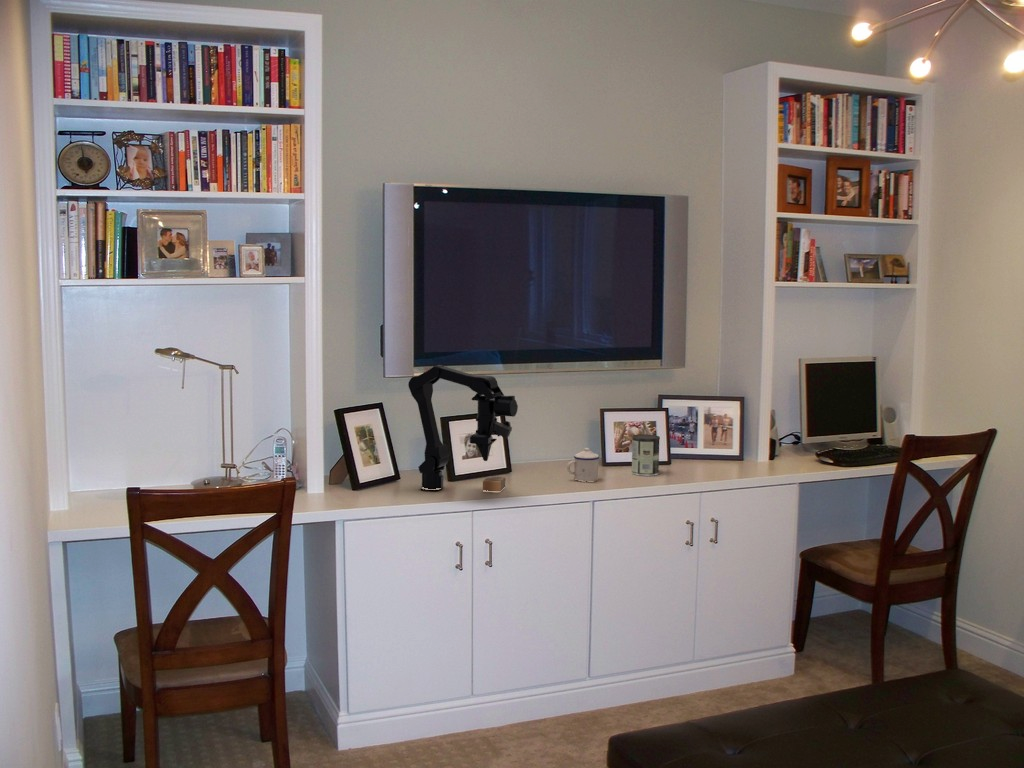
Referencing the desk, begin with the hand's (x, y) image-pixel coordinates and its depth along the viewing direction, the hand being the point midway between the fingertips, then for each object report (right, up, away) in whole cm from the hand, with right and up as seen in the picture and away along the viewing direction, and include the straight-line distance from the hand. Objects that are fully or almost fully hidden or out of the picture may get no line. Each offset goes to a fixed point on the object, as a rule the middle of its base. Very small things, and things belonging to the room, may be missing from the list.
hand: (485, 460), depth 308 cm
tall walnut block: (+2, -9, +5) cm, 11 cm away
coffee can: (+59, -8, +40) cm, 71 cm away
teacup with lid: (+34, -9, +27) cm, 44 cm away
